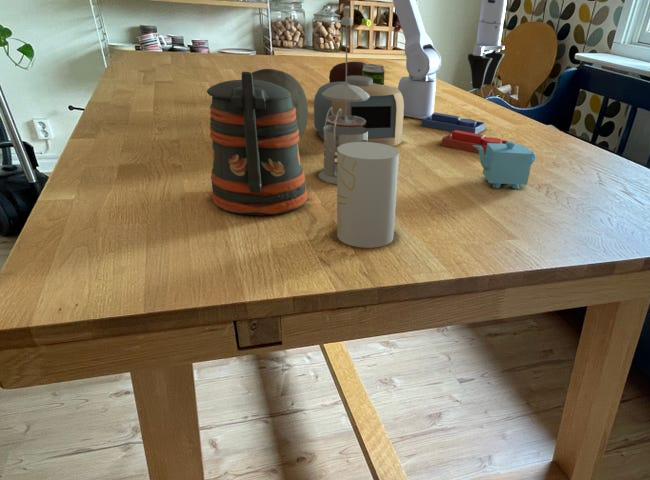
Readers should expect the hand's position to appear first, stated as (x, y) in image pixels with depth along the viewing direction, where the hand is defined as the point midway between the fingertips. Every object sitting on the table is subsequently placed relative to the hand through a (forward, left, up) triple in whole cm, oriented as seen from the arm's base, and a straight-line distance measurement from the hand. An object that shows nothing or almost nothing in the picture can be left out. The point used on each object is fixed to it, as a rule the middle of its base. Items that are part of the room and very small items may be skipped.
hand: (482, 86), depth 137 cm
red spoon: (+7, -21, -9) cm, 24 cm away
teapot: (+19, -43, -9) cm, 48 cm away
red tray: (+7, -21, -9) cm, 24 cm away
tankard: (-9, -78, -9) cm, 79 cm away
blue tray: (-4, -7, -9) cm, 12 cm away
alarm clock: (-18, -31, -9) cm, 37 cm away
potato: (-37, 0, -9) cm, 38 cm away
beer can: (-24, -13, -9) cm, 29 cm away
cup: (+10, -79, -9) cm, 80 cm away
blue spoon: (-3, -7, -9) cm, 12 cm away
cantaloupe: (-24, -54, -9) cm, 60 cm away
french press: (-6, -58, -9) cm, 59 cm away
